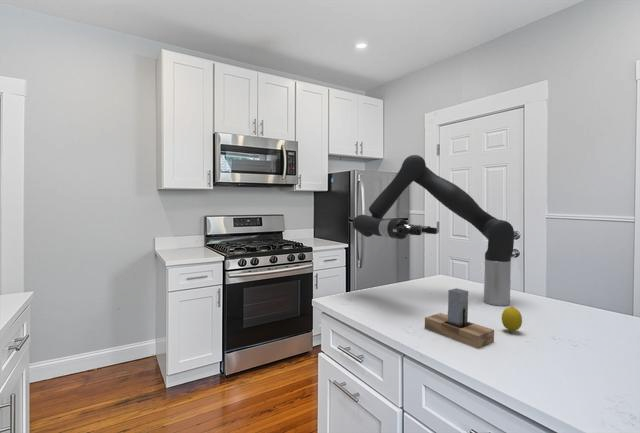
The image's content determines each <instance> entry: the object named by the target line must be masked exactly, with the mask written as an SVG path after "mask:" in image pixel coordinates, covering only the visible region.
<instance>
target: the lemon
mask: <svg viewBox="0 0 640 433" xmlns="http://www.w3.org/2000/svg"><path fill="white" fill-rule="evenodd" d="M501 322H502V323H501V324H502V325H503V327H504V328H505V329H507V330H508V331H509V332H510V333H513V332H515V331H517V330H519V329H520V328H521V327H522V323H523V317H522V314H521V311H520V310H518V309H517V308H515V307H514V306H509V307H506V308H505V309H503V311H502V314H501Z"/></svg>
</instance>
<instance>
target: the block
mask: <svg viewBox="0 0 640 433" xmlns="http://www.w3.org/2000/svg"><path fill="white" fill-rule="evenodd" d="M447 295H448V300H447V303H448V304H447V315H448V324H449V325H452V326H455V327H458V328H464V327H467V321H468V316H469V314H468V313H469V312H468V309H469V291H468V290H465V289H461V288H452V289H449V290H448V294H447Z"/></svg>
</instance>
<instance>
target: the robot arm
mask: <svg viewBox="0 0 640 433" xmlns="http://www.w3.org/2000/svg"><path fill="white" fill-rule="evenodd" d="M413 182H415V183H416V184H418V185H419V186H421V187H422V188H423V189H425V190H426V191H427V192H428V193H429V194H430V195H431V196H432V197H434V198H435V199H436V200H437V201H438V202H439V203H441V204H442V205H443V206H444V207H445V208H447V209H448V210H450V211H451V212H452V213H454V214H456V215H457V216H458V217H460V218H461V219H463V220H465V221H466V222H468V223H470V224H471V225H472V226H473V227H474V228H475V229H476V230H478V231H479V233H480V234H482V235H483V236H484V237H485V238H486V239H487V250H486V251H485V253H484V279H483V280H484V281H483V282H484V284H483V302H484V303H487V304H488V305H492V306H500V307H501V306H504V307H505V306H509V305H510V303H511V283H512V282H511V276H512V275H511V274H512V273H511V272H512V271H511V270H512V269H511V267H512V265H511V264H512V263H511V262H512V256H513V254H514V243H515V230H514V227H513V225H512V224H511V223H510V222H508V220H502V219H498V218H496V217H494V216H493V215H491V214H490V213H488V212H486V211H485V210H483V208H481V207H480V206H479V204H478V203H477V202H476V201H475V200H474V198H473V197H471V195H470V194H468V193H467V192H466V191H465V190H463V188H461V187H459V186H458V185H456V183H453V182H451V181H449V180H447V179H445V178H443V177H442V176H440V175H437V174H436V173H434V172H433V171H432V170H431V169H430V168H429V167H427V164H426V161H425V159H424V158H423V157H422V156H421V155H418V154H413V155H409V156H407V157H406V158H405V159H404V160H403V161H402V163H401V166H400V169H399V171H398V172H397V174H396V175H395V176H394V177H393V179H392V180H391V182H390V183H389V184H387V186H386V188H384V190H383V191H382V192H381V193H380V194H378V196H377V197H376V198H375V200H374V201H373V202H372V203H371V204H370V206H369V207H368V211H369V212H370V214H371V216H370V215H367V214H359V215H356V216H355V217H354V218H353V220H352V227H353V229H355V231H357V232H358V233H360V234H361V235H362V236H364V237H366V238H369V237H372V236H373V235H374V236H378V237H383V238H389V239H395V240H397V239H398V240H404V239H405V238H407V236H422V234H426V235H436V234H438V228H437V227H431V226H430V225H421V224H409V223H408V222H407V220H406V219H403V218H384V216H385V215H386V214H387V212H389V210H390V209H391V208H392V207H393V205H394V204H395V203H396V202H397V200H398V199H399V198H400V196H401V195H402V194H403V192H404V191H405V190H406V189H407V188H408V187H409V186H410V185H411V184H412V183H413Z"/></svg>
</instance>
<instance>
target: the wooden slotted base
mask: <svg viewBox="0 0 640 433" xmlns="http://www.w3.org/2000/svg"><path fill="white" fill-rule="evenodd" d="M424 329H426V330H428V331H430V332H434V333H437V334H438V335H441V336H444V337H446V338H450V339H452V340H454V341H457V342H460V343H463V344H466V345H468V346H471V347H473V348H476V349H481V348H483V347H485V346H488V345H490V344H492V343H494V342H495V329H493V328H489V327H487V326H484V325H481V324H476V323H474V322H470V321H468V320H467V327H464V328H458V327H455V326H452V325H449V324H448V314H445V313H442V312H438V313H436V314H432V315H429V316H425V317H424Z"/></svg>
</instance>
